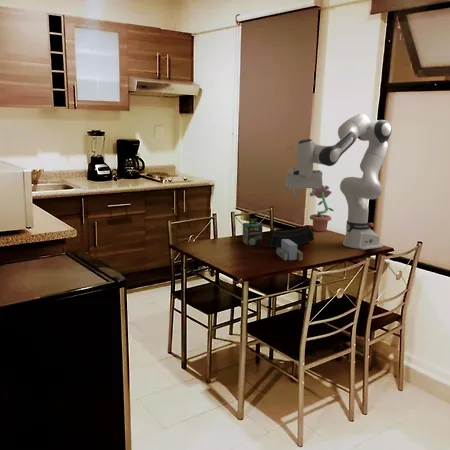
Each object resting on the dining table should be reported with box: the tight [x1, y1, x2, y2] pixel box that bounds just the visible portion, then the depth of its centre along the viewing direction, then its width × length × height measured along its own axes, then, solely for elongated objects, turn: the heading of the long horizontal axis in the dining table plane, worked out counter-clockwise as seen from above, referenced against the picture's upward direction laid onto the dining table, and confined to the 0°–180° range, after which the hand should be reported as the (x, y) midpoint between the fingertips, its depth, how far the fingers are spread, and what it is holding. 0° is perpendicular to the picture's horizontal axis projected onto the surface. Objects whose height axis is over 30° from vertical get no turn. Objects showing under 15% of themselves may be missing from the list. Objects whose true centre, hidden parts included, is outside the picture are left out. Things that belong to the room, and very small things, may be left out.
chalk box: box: [242, 218, 263, 246], centre depth 270 cm, size 9×9×15 cm
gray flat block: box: [275, 247, 288, 261], centre depth 245 cm, size 2×12×4 cm, turn 14°
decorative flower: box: [309, 185, 335, 232], centre depth 303 cm, size 15×14×30 cm
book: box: [280, 239, 298, 261], centre depth 246 cm, size 4×12×8 cm, turn 14°
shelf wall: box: [297, 248, 304, 262], centre depth 247 cm, size 2×16×4 cm, turn 14°
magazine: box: [266, 225, 315, 248], centre depth 266 cm, size 17×3×30 cm
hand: (303, 196), depth 250 cm, fingers open, 8 cm apart
